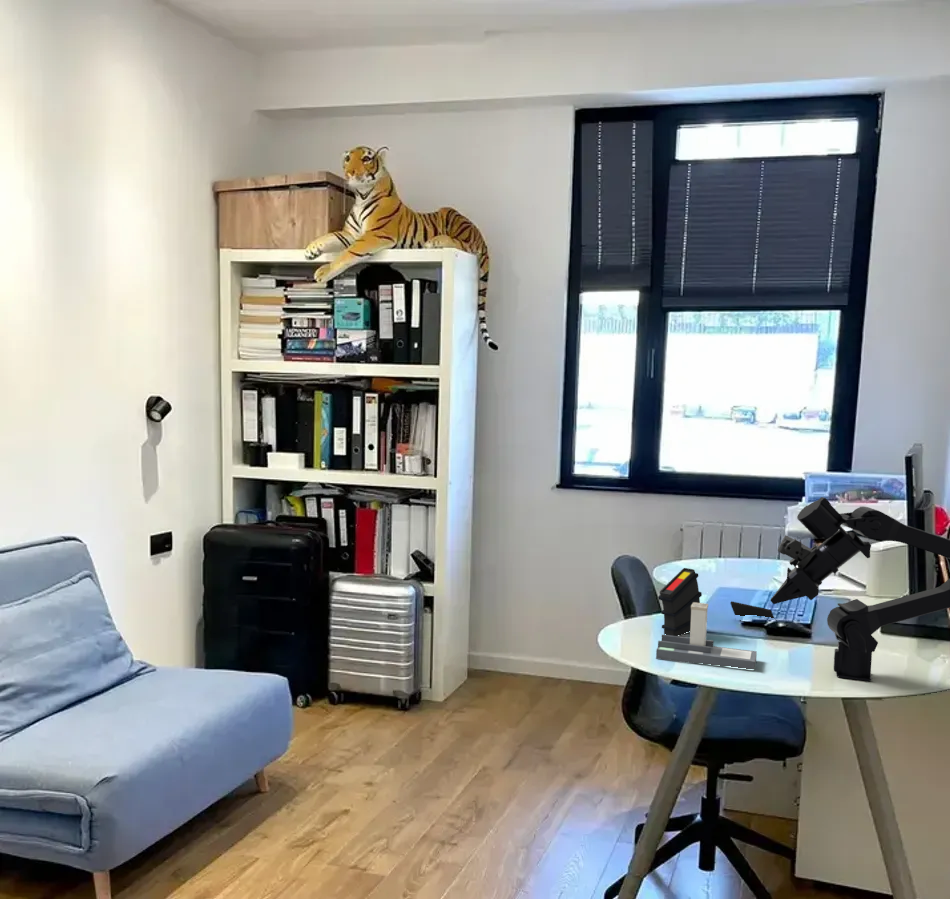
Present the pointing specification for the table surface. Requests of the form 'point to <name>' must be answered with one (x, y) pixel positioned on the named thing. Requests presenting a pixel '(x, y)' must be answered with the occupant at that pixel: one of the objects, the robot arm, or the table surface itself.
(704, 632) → the switch tab
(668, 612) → the black tall block
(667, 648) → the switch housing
